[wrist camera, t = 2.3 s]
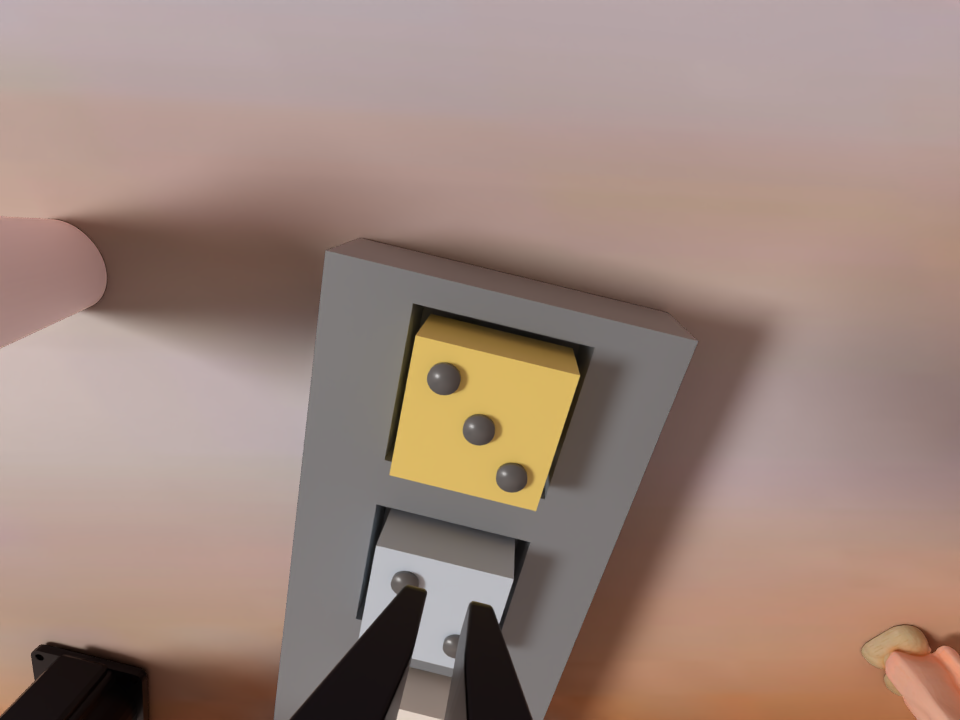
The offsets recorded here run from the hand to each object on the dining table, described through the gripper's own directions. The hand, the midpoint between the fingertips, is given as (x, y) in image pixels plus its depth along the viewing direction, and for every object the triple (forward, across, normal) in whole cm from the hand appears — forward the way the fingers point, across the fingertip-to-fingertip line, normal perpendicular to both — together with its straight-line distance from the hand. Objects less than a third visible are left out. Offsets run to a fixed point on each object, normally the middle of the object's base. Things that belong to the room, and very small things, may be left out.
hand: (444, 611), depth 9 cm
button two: (+10, 0, +8) cm, 12 cm away
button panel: (+12, 0, +8) cm, 14 cm away
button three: (+10, 0, 0) cm, 10 cm away
